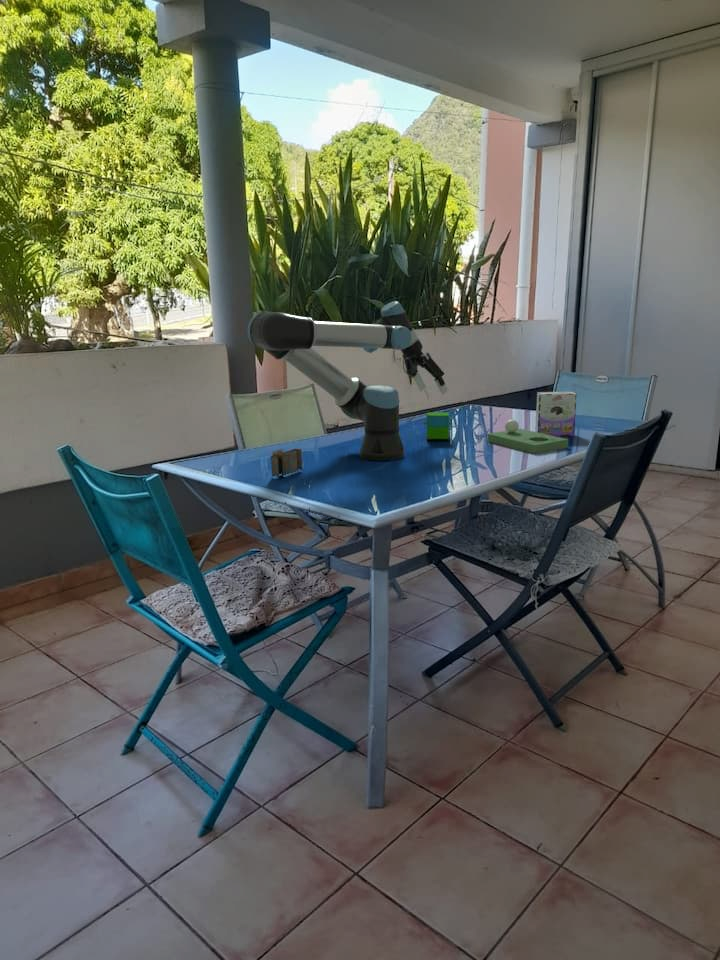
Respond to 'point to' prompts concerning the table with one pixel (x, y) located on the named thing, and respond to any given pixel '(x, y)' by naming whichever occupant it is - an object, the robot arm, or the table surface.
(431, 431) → the green toy van
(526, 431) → the putting mat
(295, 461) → the ruin model on sheet
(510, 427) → the ball
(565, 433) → the candy box
